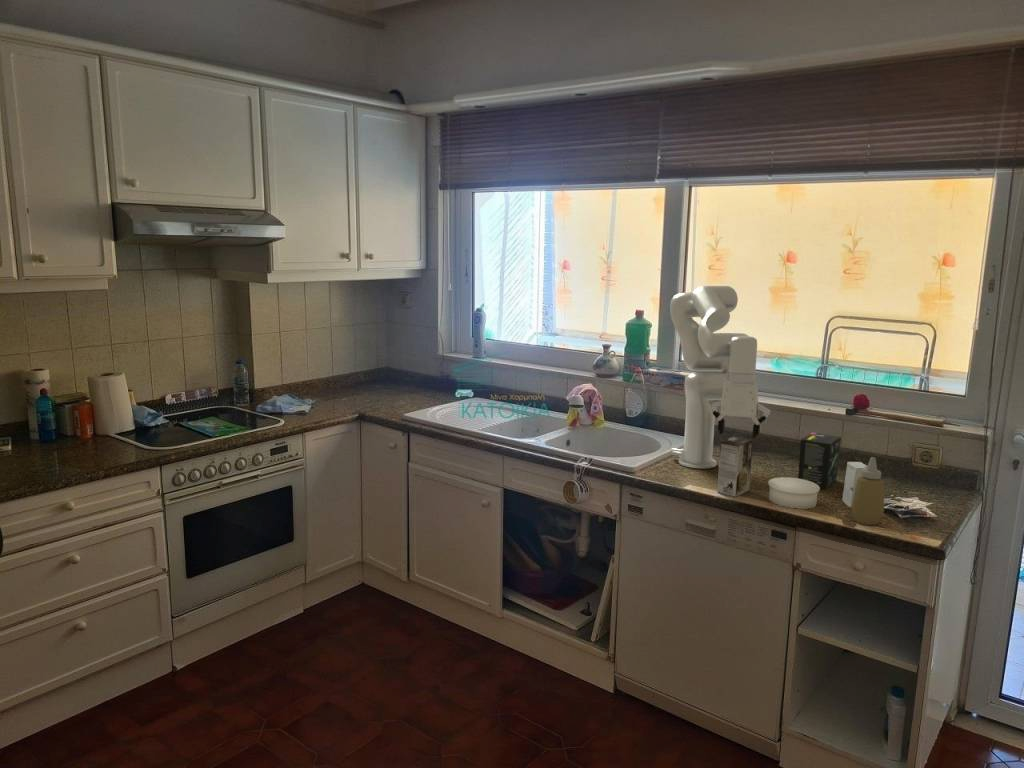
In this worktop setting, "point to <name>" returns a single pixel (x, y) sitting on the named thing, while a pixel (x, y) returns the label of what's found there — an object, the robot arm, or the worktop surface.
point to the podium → (793, 492)
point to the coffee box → (734, 465)
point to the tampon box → (819, 459)
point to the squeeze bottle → (869, 496)
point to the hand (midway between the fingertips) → (738, 435)
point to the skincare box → (852, 480)
